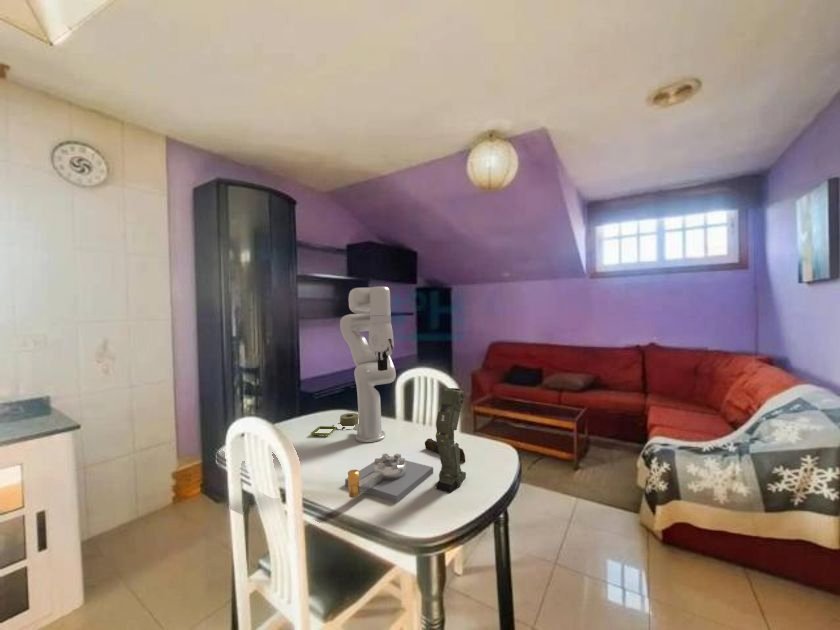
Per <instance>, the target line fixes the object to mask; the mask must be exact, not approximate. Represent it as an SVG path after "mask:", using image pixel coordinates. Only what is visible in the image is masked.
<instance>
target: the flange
mask: <svg viewBox="0 0 840 630" xmlns="http://www.w3.org/2000/svg"><path fill="white" fill-rule="evenodd" d="M358 419H359V418H358V413H357V412H356V413H355V412H348V413H344V414H341V415H340V416H339V421H340V424H341V425H342V426H354V425H356V424H358Z"/></svg>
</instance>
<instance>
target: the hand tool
mask: <svg viewBox="0 0 840 630" xmlns="http://www.w3.org/2000/svg"><path fill="white" fill-rule="evenodd" d="M424 446H425V449H426V450H429V451H431V450H432V451H433V452H437V453H439V450H438V445H437V441H436V440H433V438H430V437H429V438H427V439H425V441H424ZM459 448H460V461H461V462H460V463H465V462H466V455H465V452H464V449H462V448H461V447H459Z"/></svg>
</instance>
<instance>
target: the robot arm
mask: <svg viewBox="0 0 840 630" xmlns="http://www.w3.org/2000/svg"><path fill="white" fill-rule="evenodd" d="M348 308H349V310H350V311H351V312H352V313H349V314H345V315H344V316H342V317H341V318H340V321H339V328H340V332H341V335H342V337H343V339H344V341H345V342H346V343H347V345H348V347H349V350H350V354H351V356H352V357H351V358H352V360H353V362H354V363H353V364H355V366H356V367H355V369H354V372H353V373H354V379H355V380H354V381H355V385H356V392H357V393H356V394H357V395H356V396H357V409H358V411H357V414H358V419H359V424H356V425H355V427H354V428H353V430H352V431H356V432H357V433H356V434H355V440H356V441H358V442H360V443H374V442H378V441H379V442H380V441H381V440H384V439H385V437H386V432H385V431H384V430H382V411H381V410H382V407H381V395H380V392H379V391H378V390H377V389H376V388H375V386H378V385H386V384H387V385H388V384H391V383H393V382H394V381H395V380H396V378H397V376H396V375H397V373H396V368H395V365H394V362H393V360H392V357H391V356H392V355H393V350H394V348H395V343H394V331H393V327H392V315H391V314H392V313H391V291H390V288H389V287H388V286H372V287H354V288H352V289H351V290H350V291H349V293H348ZM359 332H368V341H367V338H366V337H365V336H364V335H362V334H361V333H359Z"/></svg>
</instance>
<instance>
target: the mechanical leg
mask: <svg viewBox="0 0 840 630" xmlns="http://www.w3.org/2000/svg"><path fill="white" fill-rule="evenodd" d="M442 395H443V396H442V399H441V406H440V411H437V414H436V415H437V416H436V422H435V424H436V426H435V427H436V428H435V429H436V433H435V441H436V442H437V445H438V450H439V452H438V454H439V460H440V464H441V467H440V468H441V469H440V471H439V474H438V479H439V480H438V482H436V486H435V490H438V491H441V492H444V493H449V494H452V492H453V491H455V490H456V489H457V488H458V487H461V485H462V483H463V481H464V480H465V479H466V478H467V477H466V475H467V472H465V471H462V468H461V465H460V463H461V462H460V448H461V447H459V446H460V445H459V444H460V443H457V442H455V431H457V430H458V425H459V421H460V415H461V412H462V407H463V404H464V401H465V396H464V395H465V391H463V390H461V388H456V387H445V389H444V392H443V394H442Z"/></svg>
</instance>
